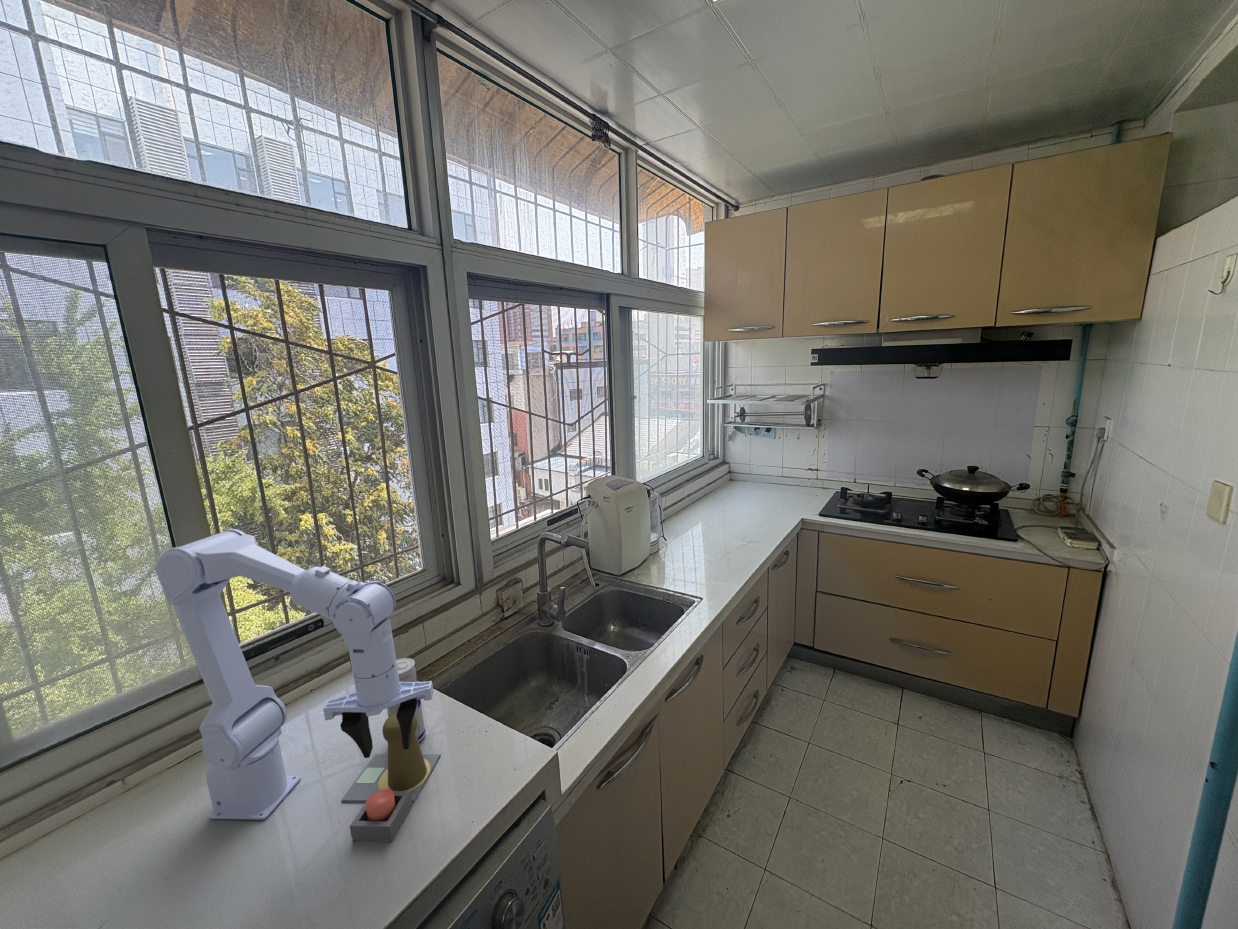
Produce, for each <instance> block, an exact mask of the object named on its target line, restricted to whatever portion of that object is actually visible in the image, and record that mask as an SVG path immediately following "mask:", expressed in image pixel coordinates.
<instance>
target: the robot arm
mask: <svg viewBox="0 0 1238 929" xmlns="http://www.w3.org/2000/svg"><path fill="white" fill-rule="evenodd" d="M154 572H155V573H156V576H157V578H158V580H159V582H160V585H161V589H162V591H163V593H164V596H165V598H166V601H167V602H168V604H169V605H170V606H172V607H173V610H174V613H175V615H176V618H177V619H178V622H179V625H180V628H181V630H182V632H183V634H184V637H185V640H186V642H187V644H188V646H189V649H190V652H191V654H192V658H193V659H194V661H195V664H196V667H197V668H198V670H199V673H200V677H201V678H202V680H203V683H204V685H205V688H206V691H207V693H208V695H209V699H210V700H211V703H212V704H211V705H210V708H209V709H208V711H207V712H206V715H205V717H204V718H203V720H202V722H201V724H200V725H199V728H198V729H199V732H200V734H201V738H202V753H203V757H204V758H205V759H206V761H207V762H208V763H209V765H208V767H207V771H206V779H205V780H206V783H207V784H206V785H207V789H208V792H209V793H208V794H209V796H210V801H211V804H212V809H213V811H211V813H210V814H209V816H208V818H209V819H211V820H212V819H214V820H265V819H267V818H268V816H270V815H271V813H273V811H274V810H275V809H276V808H277V807H278V806H279V804H280V803H281V802H282V801H283V800H284V799H285V798H286V796H287V795H288V794H289V793H290V792H291V791H292V790H293V788H295V786H296V785H297V784H298V783H299V782H300V780H301V779H302V776H301V775H287V774H286V769H285V764H284V760H283V755H282V750H281V744H280V740H279V738H280V736H282V733H283V732H282V727H283V726H284V724H285V723H286V721H287V718H288V712H287V709H286V706H285V704H284V703H283V702H282V700H280V699H279V698H278V696H277V695H276V693H275V691H274V689H273V687H272V686H269V685H259V684H255V681H254V679H253V677H252V674H251V670H250V669H249V666H248V664H247V661H246V658H245V656H244V654H243V651H242V648H241V646H240V644H239V641H238V638H237V636H236V633H235V631H234V628H233V625H232V624H231V621H230V618H229V615H228V613H227V610H226V608H225V606H224V603H223V600H222V598H221V594H222V592H223V591H224V589H225V588H226V586H227V585H228V583H229V582H230V580H231V579H233V578H237V577H243V578H246V579H248V580H252V581H255V582H258V583H262V584H265V585H266V586H267V585H268V586H270V587H272V588H276V589H279V590H282V591H285V592H288V593H289V594H290V598H291V601H292V603H293V604H295V605H297V606H300V607H301V608H303V609H306V610H308V611H311V612H312V613H315V614H318V615H321V616H323V617H324V618H327V619H330V620H331V621H332V623H333V625H334V627H335V629H336V630H337V631H338V633H340V635H341V636H342V637H343V641H344V646H346V647H347V649H348V652H349V657H350V664H351V669H352V670H351V671H352V675H353V681H354V687H355V692H351V693H348V694H345V695H342V696H340V697H336V698H332V699H328V700H327V701H326V703H325V704H324V707H323V709H322V710H323V716H324V721H331V720H333V719H334V718H335V717H337V716H341V720H342V721H341V723H340V729H341V731H342V732H343V733H345V734H346V735H348V736H349V737H350V738H351V739H352V740H353V741H354V743H356V745H357V747H358V748H359V750H360V752H361V754H362V755H363V758H364V759H369V758H370V756H371V753H372V750H373V748H374V746H373V737H372V734H371V728H370V722H369V721H370V720H369V717H372V716H377V715H380V714H381V713H382V712H383V710H387V708H389V707H391V706H394V705H396V704H399V703H400V706H399V709H398V712H397V715H396V716H397V719H398V722H399V725H400V728H401V733H402V743H403V748H404V750H406V749H409V747H410V743H411V728H412V721H413V717H414V714H415V711H416V707H417V703H418V700H419V699H421V700H424V701H425V702H426V701H431V700H432V699H433V696H434V686H433V681H432V680H429V681H418V682H399V676H398V670H397V663H396V660H397V658H396V657H397V656H396V651H395V644H394V643H395V642H394V636H393V632H392V625H391V619H390V615H391V614H392V613H394V610H395V609H396V606H397V601H396V596H395V593H394V592H393V590H392V589H391V588H390V587H388V585H386V584H384V583H383V582H381V581H380V580H371V581H368V582H363V581H360V582H359V581H356V580H352V579H350V578H347V577H345V576H343V575H339V574H338V573H335V572H333V571H331V568H330V567H327V566H324V565H322V566H314V567H311V568H309V569H304V568H302V567H300V566H298V565H296V564H294V563H293V562H290V561H288V560H287V559H284V558H282V557H280V556H279V555H277V554H275V553H272V552H271V551H268V550H267V549H265V548H263V547H261V546H259V544H258V541H257V540H256V538H255V537H254V535H251V534H248V533H245V532H244V531H241V530H240V529H236V528H228V529H225V530H223V531H221V532H219V533H217V534H213V535H210V536H207V537H205V538H202V539H199V540H196V541H192V542H190V543H186V544H185V545H181V546H176V547H172V548H169V549H166V551H164V552H163V553H162V555H161V556H160V558H159V559H158V561H157V563H156V565H155V567H154Z"/></svg>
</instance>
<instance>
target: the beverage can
mask: <svg viewBox="0 0 1238 929" xmlns="http://www.w3.org/2000/svg"><path fill="white" fill-rule="evenodd" d="M396 663H397V670H398V676H399V682H419V680H418V672H417V667H416V661H415V660H414V659H412V658H410V657H403V658H399V659H398V658H397V659H396ZM421 700H422V699H419V700H418V703H417V707H416V711H415V714H414V715H415V716H416V718H417V729H416V731H415V733H416V736H417V740H418V743H419V744H420V742H421V741H422V740H423V739H424V737H425V736H426V727H425V721H424V714H423V708H422V707H423V706H422V701H421ZM399 706H400V703H399V704H396V705H394V706H391V707H389V708H386V710H387V716H388V717H387V718H389V717H390V716H391V715H393V714H395V713H397V712H398V709H399Z"/></svg>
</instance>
